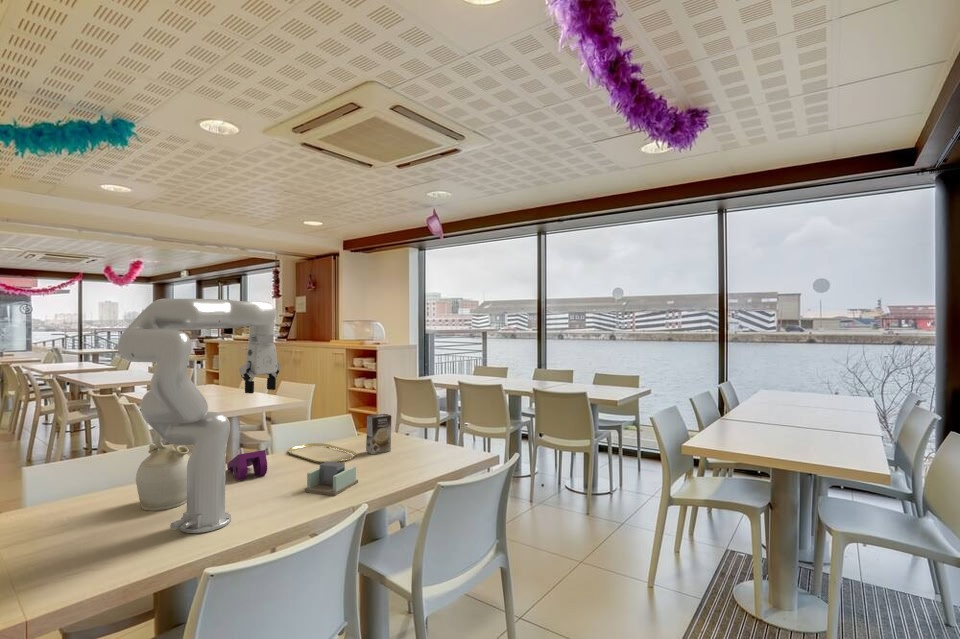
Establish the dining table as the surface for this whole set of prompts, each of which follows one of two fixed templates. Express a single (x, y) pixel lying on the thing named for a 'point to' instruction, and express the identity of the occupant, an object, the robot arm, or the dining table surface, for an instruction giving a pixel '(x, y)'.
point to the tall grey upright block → (330, 472)
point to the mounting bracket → (248, 464)
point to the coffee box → (378, 433)
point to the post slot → (339, 482)
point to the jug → (163, 476)
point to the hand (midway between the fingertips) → (260, 391)
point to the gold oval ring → (319, 445)
